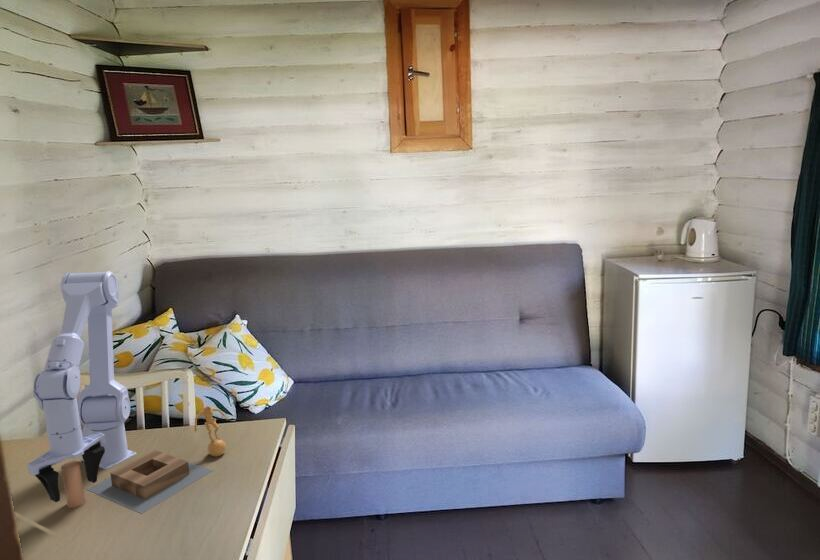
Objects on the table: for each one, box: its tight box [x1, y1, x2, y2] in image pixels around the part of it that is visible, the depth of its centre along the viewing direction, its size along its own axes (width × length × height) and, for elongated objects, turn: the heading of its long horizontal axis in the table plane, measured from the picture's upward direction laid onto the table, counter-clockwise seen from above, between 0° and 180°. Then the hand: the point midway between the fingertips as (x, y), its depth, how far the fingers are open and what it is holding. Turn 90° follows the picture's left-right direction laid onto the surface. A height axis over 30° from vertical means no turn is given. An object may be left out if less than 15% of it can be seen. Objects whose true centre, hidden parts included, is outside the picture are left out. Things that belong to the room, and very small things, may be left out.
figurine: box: [193, 405, 228, 458], centre depth 139 cm, size 8×6×12 cm
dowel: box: [60, 460, 86, 509], centre depth 120 cm, size 3×3×9 cm
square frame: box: [109, 449, 189, 500], centre depth 128 cm, size 11×11×3 cm
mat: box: [86, 461, 214, 515], centre depth 129 cm, size 18×18×1 cm
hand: (74, 490), depth 120 cm, fingers open, 7 cm apart
